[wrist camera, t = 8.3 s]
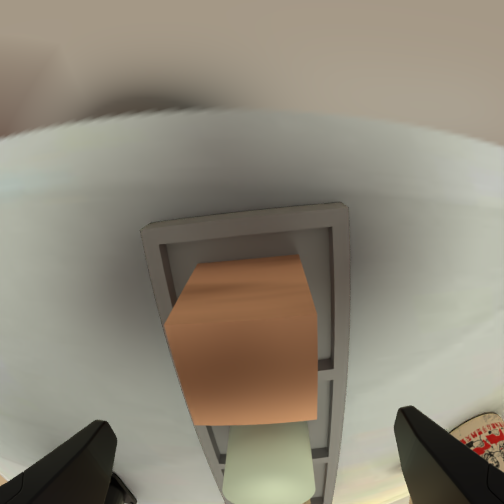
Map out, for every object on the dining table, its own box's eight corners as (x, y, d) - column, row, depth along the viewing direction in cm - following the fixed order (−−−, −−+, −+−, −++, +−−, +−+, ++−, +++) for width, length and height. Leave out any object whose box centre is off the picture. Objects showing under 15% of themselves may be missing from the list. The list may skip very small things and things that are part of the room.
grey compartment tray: (329, 494, 23) (336, 548, 17) (230, 500, 24) (225, 554, 18) (340, 202, 15) (389, 237, 9) (150, 223, 16) (88, 267, 10)
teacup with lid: (512, 396, 20) (568, 478, 9) (485, 451, 22) (522, 524, 11) (404, 439, 21) (443, 552, 10) (390, 487, 23) (413, 577, 12)
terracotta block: (303, 340, 17) (317, 419, 11) (213, 347, 17) (194, 425, 12) (298, 254, 16) (317, 314, 10) (197, 263, 16) (163, 325, 10)
